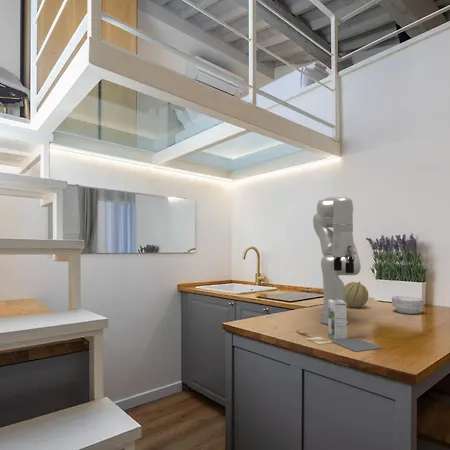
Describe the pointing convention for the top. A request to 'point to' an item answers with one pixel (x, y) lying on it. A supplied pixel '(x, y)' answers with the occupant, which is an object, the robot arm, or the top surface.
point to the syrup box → (337, 320)
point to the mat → (356, 345)
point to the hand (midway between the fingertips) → (343, 271)
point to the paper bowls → (407, 304)
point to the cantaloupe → (355, 294)
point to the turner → (314, 338)
